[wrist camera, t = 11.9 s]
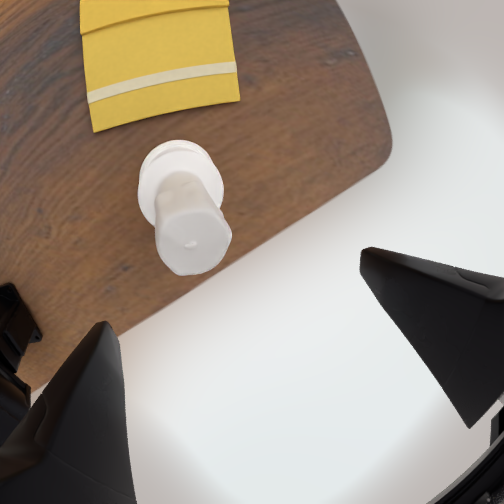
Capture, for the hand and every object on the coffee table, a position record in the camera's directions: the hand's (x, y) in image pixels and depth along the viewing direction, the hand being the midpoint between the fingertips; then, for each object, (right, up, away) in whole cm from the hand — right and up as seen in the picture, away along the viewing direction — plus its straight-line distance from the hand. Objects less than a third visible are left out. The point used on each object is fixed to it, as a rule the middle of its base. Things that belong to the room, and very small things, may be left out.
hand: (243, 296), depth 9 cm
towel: (-6, +16, +5) cm, 18 cm away
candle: (-5, +7, +10) cm, 13 cm away
